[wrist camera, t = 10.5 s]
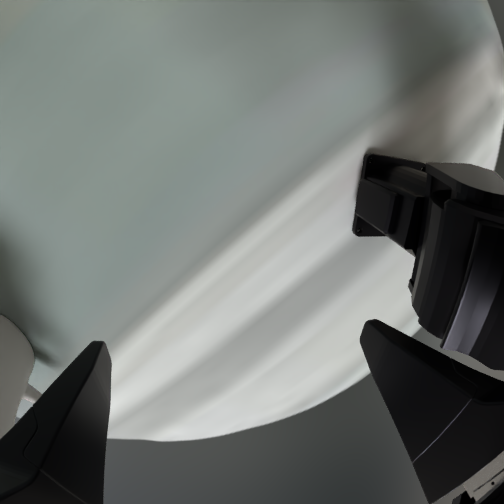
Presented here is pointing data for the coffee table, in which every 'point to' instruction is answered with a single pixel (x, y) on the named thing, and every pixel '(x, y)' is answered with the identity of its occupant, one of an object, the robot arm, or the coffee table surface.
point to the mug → (14, 373)
